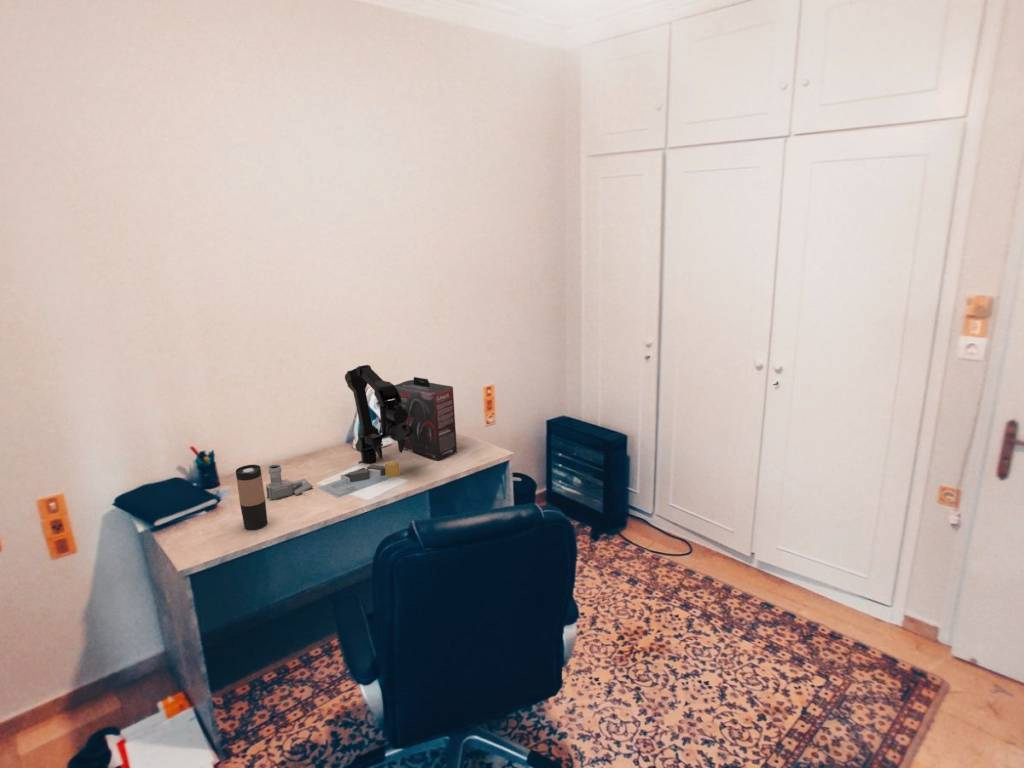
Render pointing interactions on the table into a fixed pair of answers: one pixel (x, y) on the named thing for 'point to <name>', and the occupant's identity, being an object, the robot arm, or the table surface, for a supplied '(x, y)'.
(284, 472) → the table surface
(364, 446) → the robot arm
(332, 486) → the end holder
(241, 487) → the travel mug
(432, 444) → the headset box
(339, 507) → the table surface
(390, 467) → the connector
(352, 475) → the charcoal brick
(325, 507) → the table surface
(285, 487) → the grey angular model part
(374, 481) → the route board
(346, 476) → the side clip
